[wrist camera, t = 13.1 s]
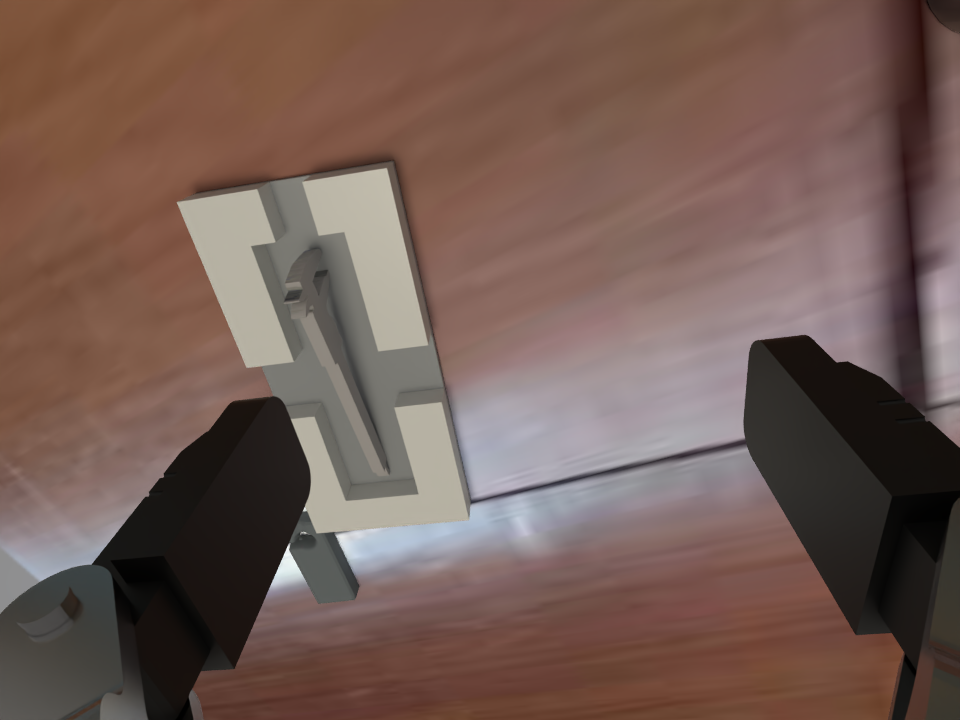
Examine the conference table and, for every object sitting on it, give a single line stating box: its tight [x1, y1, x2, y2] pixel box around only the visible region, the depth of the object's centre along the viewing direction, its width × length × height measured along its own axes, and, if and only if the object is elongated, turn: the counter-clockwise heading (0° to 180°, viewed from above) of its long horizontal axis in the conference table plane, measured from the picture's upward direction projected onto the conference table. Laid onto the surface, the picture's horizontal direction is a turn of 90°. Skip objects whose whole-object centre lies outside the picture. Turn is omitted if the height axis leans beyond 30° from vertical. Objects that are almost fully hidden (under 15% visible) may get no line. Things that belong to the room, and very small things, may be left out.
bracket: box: [289, 511, 359, 604], centre depth 55 cm, size 4×11×2 cm, turn 12°
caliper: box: [283, 249, 390, 476], centre depth 42 cm, size 21×1×6 cm, turn 9°
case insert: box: [177, 161, 471, 533], centre depth 44 cm, size 14×30×2 cm, turn 9°
